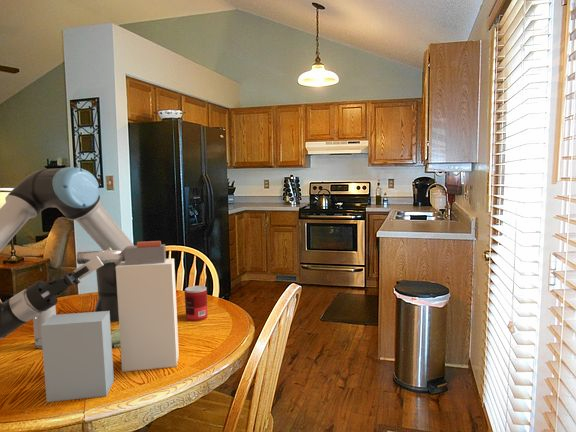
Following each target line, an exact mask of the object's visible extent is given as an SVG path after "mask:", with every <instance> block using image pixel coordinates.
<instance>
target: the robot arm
mask: <svg viewBox="0 0 576 432" xmlns="http://www.w3.org/2000/svg"><path fill="white" fill-rule="evenodd" d="M99 187H100V185H99V182H98V180H97V179H96V177H95V175H93V173H91V172H90V171H88V170H86V169H84V168H82V167H81V168H80V167H74V166H73V167H72V166H69V167H60V168H43V169H39V170H36V171H34V172H32V173H30V174H29V175H27V176H26V177H25V178H24V179H22V180H21V181H20V182H19V183H17V185H16V186H15V187H14V188H13V189H12V190H11V191H10V192H9V193H8V194H7V195H6V196H5V198H4V200H5V203H3V205H2V206H1V207H0V253H1V252H2V251H3V250H4V248H5V247H6V246H7V245H8V244H9V243H10V241H12V239H13V238H14V237H15V235H17V234H18V232H19V231H20V230H21V229H22V228H23V227H24V225H25V224H26V223H27V222H28V221H29V220H30V219H34V218H37V216H38V215H39V214H40V213H41V212H42V211H44V210H45V209H48V208H56V209H58V210H59V211H60V212H61V213H62V215H63V217H65V218H66V219H67V220H71V221H76V222H77V223H78V224H79V226H80V227H81V228H82V230H84V231H85V232H86V233H87V234H88V235H89V236H90V238H91V239H92V240H93V241H94V242H95V243H96V244H97V245H98V247H100V249H101V251H106V250H124V248H126V247H127V246H135V245H134V243H133V242H132V241H131V240H130V238H129V237H128V236H127V235H126V233H125V232H124V231H123V230H122V228H121V227H120V226H119V225H118V224H117V223H116V222H115V220H114V218H112V217H111V215H110V214H109V213H108V211H107V210H106V209H105V208H104V207H103V205H102V204H101V203H100V202H101V195H100V189H99ZM120 263H121V262H108V263H102V262H101V260H100V259H99V257H98V256H96V257H95V258H93V259H91V260H90V261H88V262H87V263H85V264H81V265H80V266H79V267H77V268H75V269H74V270H72V271H70V272H66V273H65V274H63V275H60V276H58V277H56V278H55V279H53V280H51V281H49V284H50V285H49V284H47V283H48V282H47V281H46V282H45V281H44V280H38V281H36V282H35V283H33V284H30V286H28V287H27V288H25V289H23V290H21V291H20V292H18V293H17V294H15V295H13V296H12V297H10V298H9V299H7V300H5V301H3V302H2V301H1V300H0V340H1V339H4V338H6V337H7V336H8V335H9V334H12V332H14V331H16V330H17V329H18V328H20V327H22V326H23V325H25V324H27V323H29V321H31V320H32V321H33V320H36V319H37V318H36V316H38V315H39V314H41V313H42V312H43V311H46V310H48V309H49V308H51V307H53V306H54V305H55V306H57V303H58V296H59V295H60V294H62V293H64V292H65V291H66V290H68V288H70V286H72V285H74V284H75V285H76V286H77V285H79V284H80V283H81V281H80V280H82V279H84V278H85V277H86V276H88V275H90V274H91V273H93V272H95V271H96V284H97V295H98V297H97V300H96V304H95V308H94V311H93V312H101V311H110V322H115V321H119V313H118V297H117V280H116V266H117V265H118V264H120Z"/></svg>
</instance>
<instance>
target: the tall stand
mask: <svg viewBox="0 0 576 432" xmlns="http://www.w3.org/2000/svg"><path fill="white" fill-rule="evenodd" d="M175 267H176V266H175V258H173V257H172V258H166V261H165V263H155V264H137V265H125V262H121V263H120V264H118V265H117V266H116V280H117V297H118V313H119V320H118V325H119V327H118V329H120V346H121V347H120V359H121V360H120V361H121V372H133V371H142V370H155V369H166V368H173V367H175V368H177V366H178V362H179V357H180V356H179V355H180V353H179V351H180V350H179V332H178V331H179V330H178V329H179V328H178V312H177V308H178V307H177V292H176V291H177V290H176V270H175Z"/></svg>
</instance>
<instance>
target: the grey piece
mask: <svg viewBox="0 0 576 432" xmlns="http://www.w3.org/2000/svg"><path fill="white" fill-rule="evenodd" d="M96 256H98V257H99V259H100V260H101V262H102V263H108V262H125V265H137V264H155V263H165V261H166V259H167V252H166V243H163V244H162V241H161V240H151V241H150V240H149V241H137V242H136V245H134V246H127V247H126V248H124V250H106V251H103V250H89V251H78V252H77V253H76V263H77V265H83V264H85V263H87V262H88V261H90V260H91V259H93V258H95V257H96Z"/></svg>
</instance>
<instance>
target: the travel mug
mask: <svg viewBox="0 0 576 432" xmlns="http://www.w3.org/2000/svg"><path fill="white" fill-rule="evenodd" d="M49 282H50V281H49ZM49 282H48V281H47V282H46V283H47V284H49ZM49 285H50V284H49ZM56 306H57V305H54V306H53V307H51V308H49V309H48V310H46V311H43V312H42V313H41V314H39V315H38V316H36V318H37V319H36V320H32V322H33V323H32V324H33V335H34V336H33V337H34V338H33V339H34V347H35V348H36V349H37V348H38V350H43V348H42V335H41V325H42V324H43V323H44V322H46V321H47V320H48V319H49V318H50V317H51V316H53V315H57V310H56V309H57V308H56Z"/></svg>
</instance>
